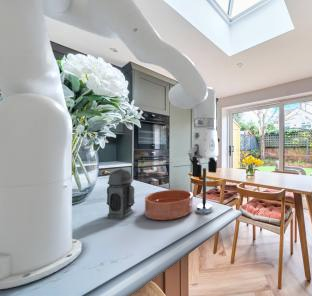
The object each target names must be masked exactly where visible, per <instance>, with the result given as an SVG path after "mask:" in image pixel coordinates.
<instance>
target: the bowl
mask: <svg viewBox="0 0 312 296" xmlns="http://www.w3.org/2000/svg"><path fill="white" fill-rule="evenodd" d="M193 197H194V196H193V193H192V192H191V191H188V190H184V189H166V190H160V191H155V192H152V193H150V194H147V195H146V196H145V197H144V215H145V217H146V218H148V219H151V220H155V221H167V220H174V219H179V218H182V217H185V216H187V215H188V214H190V213H192V211H193V201H194V200H193V199H194V198H193Z"/></svg>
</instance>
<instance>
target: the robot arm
mask: <svg viewBox="0 0 312 296" xmlns="http://www.w3.org/2000/svg"><path fill="white" fill-rule="evenodd" d="M46 17H48V18H50V19H52V20H54V21H57V22H60V23H63V24H66V25H69V26H71V27H74V28H77V29H80V30H82V31H85V32H88V33H91V34H93V35H96V36H100V37H103V38H107V39H113V40H115V39H118V38H119V39H120V41H121V42H122V44H124V46H126V48H127V49H128V50H129V51H130V53H131V54H132V55H133V56H134V57H135V59H136V60H138V61H139V62H140V63H144V64H149V65H154V66H157V67H160V68H162V69H164V70H165V71H167V72H168V73H169V74H170V75H171V76H172V77H173V78H174V79H175V80H176V82H178V83H177V84H175V85H174V86H172V87H171V88H170V89H169V91H168V94H167V98H168V101H169V103H170V104H171V105H172V106H174V107H175V108H177V109H181V110H182V109H183V110H184V109H187V110H188V109H191V110H193V133H192V143H191V144H192V145H191V148H190V149H189V150H188V151H187V154H188V157H189V161H190V164H191V165H192V167H191V168H192V169H191V170H192V172H191V173H192V177H194V178H202V177H203V168H202V166H203V165H202V164H201V163H202V161H203V159H207V160H208V162H207V170H208V171H207V172H208V173H211V174H212V173H214V174H216V173H217V162H218V157H219V141H218V140H219V139H218V133H217V93H216V90H215V89H214V88H213V87H209V86H208V85H207V83H206V81H205V79H204V77H203V75H202V73H201V72H200V71H199V69H198V68H197V66H196V65H195V64H194V62H193V61H192V60H191V59H190V58H189V57H188V56H187V55H186V54H184V53H183V52H182V51H180V50H179V49H178V48H176V47H174V46H172V45H171V44H169V43H167V42H166V41H164V40H163V38H162V37H161V35H160V34H159V33H158V32H157V30H156V29H155V28H154V26H153V25H152V23H151V22H150V21H149V19H148V17H146V15H145V14H144V12H143V11H142V10H141V8H140V7H139V5H138V4H137V2H136V1H135V0H0V94H1V98H2V99H1V100H0V290H5V289H11V288H15V287H19V286H22V285H23V286H24V285H26V284H29V283H33V282H36V281H38V280H40V279H43V278H46V277H47V276H50V275H52V274H54V273H56V272H58V271H60V270H61V269H63V268H64V267H66V266H68V265H69V264H71V263H72V262H73V261H74V260H76V259H77V258H78V257H79V256H80V254H81V252H82V250H83V243H82V241H80V240H78V239H76V238H75V239H74V238H73V167H72V166H73V162H72V161H73V159H72V158H73V157H72V156H73V155H72V154H73V128H74V127H73V119H72V116H71V114H70V112H69V111H68V107H67V102H66V98H65V94H64V93H65V92H64V89H63V84H62V79H61V72H60V67H59V64H58V62H57V59H56V57H55V53H54V52H53V48H52V44H51V39H50V36H49V33H48V28H47V23H46Z"/></svg>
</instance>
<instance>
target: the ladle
mask: <svg viewBox="0 0 312 296" xmlns="http://www.w3.org/2000/svg"><path fill="white" fill-rule="evenodd" d="M212 207H213V205H212V204H210V203H207V168H206V167H203V168H202V203H199V204H196V213H198V214H199V215H201V214H202V215H206V214H207V215H208V214H210V213H212V211H213V210H212V209H213V208H212Z"/></svg>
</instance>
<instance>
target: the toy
mask: <svg viewBox="0 0 312 296" xmlns="http://www.w3.org/2000/svg"><path fill="white" fill-rule="evenodd" d="M133 182H134V180H133V178H132V173H131V172H130V171H129V170H127V169H123V168H119V169H116V170H114V171H112V172H111V173H110V174H109V176H108V180H107V185H108V186H107V188H106V205H107V206H108V213H107V218H108V219H120V220H121V219H126V218H128V217H130V216H131V215H132V214H133V212H134V209H132V207H133V206H134V204H135V187H134V186H133V185H132V183H133Z"/></svg>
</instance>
